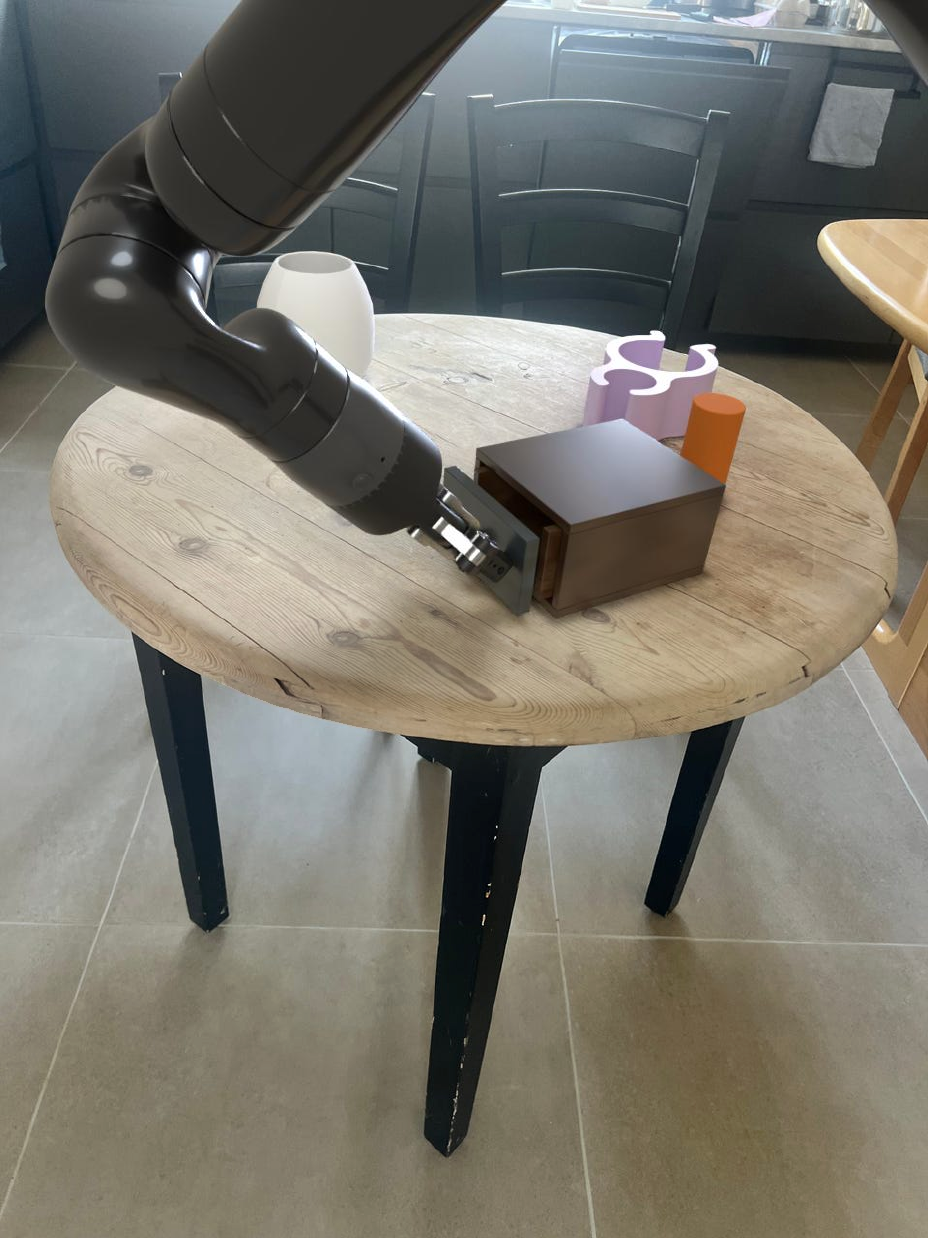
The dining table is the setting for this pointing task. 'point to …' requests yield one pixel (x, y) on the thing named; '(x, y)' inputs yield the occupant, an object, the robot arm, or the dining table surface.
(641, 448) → the cabinet
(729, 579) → the dining table surface
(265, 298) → the white vase
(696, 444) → the roller
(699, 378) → the clip
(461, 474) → the drawer
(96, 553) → the dining table surface
